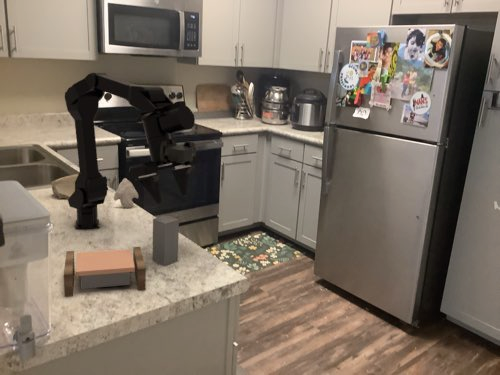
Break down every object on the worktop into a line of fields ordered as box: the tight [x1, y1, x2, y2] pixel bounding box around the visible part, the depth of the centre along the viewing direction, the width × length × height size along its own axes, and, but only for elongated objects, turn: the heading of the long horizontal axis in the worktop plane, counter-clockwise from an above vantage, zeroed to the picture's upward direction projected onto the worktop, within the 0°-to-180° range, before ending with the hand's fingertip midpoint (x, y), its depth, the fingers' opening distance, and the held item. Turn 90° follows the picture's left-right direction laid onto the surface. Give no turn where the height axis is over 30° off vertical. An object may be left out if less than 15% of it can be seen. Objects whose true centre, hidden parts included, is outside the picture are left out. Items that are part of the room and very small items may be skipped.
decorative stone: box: [50, 173, 79, 200], centre depth 160 cm, size 8×14×8 cm, turn 112°
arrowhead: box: [113, 177, 139, 209], centre depth 151 cm, size 8×3×10 cm, turn 113°
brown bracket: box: [63, 246, 147, 298], centre depth 103 cm, size 12×16×5 cm
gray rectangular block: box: [152, 214, 180, 267], centre depth 114 cm, size 4×4×11 cm
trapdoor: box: [74, 248, 135, 290], centre depth 103 cm, size 10×12×4 cm
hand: (172, 199), depth 115 cm, fingers open, 9 cm apart
